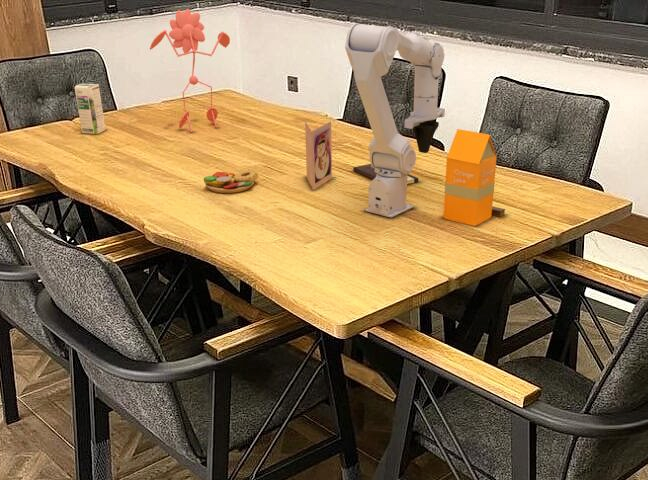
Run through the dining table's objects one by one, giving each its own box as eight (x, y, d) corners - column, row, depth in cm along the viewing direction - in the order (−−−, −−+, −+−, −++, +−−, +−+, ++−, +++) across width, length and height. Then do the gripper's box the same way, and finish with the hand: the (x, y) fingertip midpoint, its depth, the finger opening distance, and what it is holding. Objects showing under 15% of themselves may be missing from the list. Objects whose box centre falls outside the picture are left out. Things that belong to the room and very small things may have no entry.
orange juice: (460, 209, 203) (466, 125, 192) (491, 217, 198) (499, 131, 188) (442, 218, 198) (447, 132, 187) (474, 226, 193) (481, 138, 182)
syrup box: (81, 133, 269) (73, 86, 261) (91, 129, 274) (83, 82, 266) (97, 134, 268) (89, 87, 260) (106, 130, 272) (99, 83, 264)
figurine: (240, 124, 276) (232, 8, 257) (169, 137, 264) (155, 15, 245) (219, 115, 287) (209, 3, 268) (149, 127, 274) (134, 10, 256)
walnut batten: (500, 217, 198) (500, 211, 197) (457, 207, 205) (457, 201, 204) (504, 215, 199) (505, 209, 199) (461, 204, 206) (462, 199, 205)
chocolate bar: (380, 161, 234) (418, 178, 221) (380, 165, 235) (418, 181, 222) (353, 167, 230) (390, 183, 217) (353, 170, 231) (390, 187, 218)
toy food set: (263, 181, 224) (262, 169, 222) (245, 196, 213) (244, 184, 212) (217, 177, 227) (215, 165, 226) (197, 192, 217) (196, 180, 215)
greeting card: (316, 190, 217) (314, 131, 209) (291, 187, 219) (288, 128, 211) (334, 178, 225) (334, 121, 217) (310, 175, 228) (308, 118, 220)
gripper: (429, 87, 208) (426, 142, 216) (394, 98, 199) (393, 156, 206) (452, 91, 204) (449, 147, 212) (419, 102, 195) (417, 160, 203)
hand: (423, 151), depth 209 cm, fingers closed
